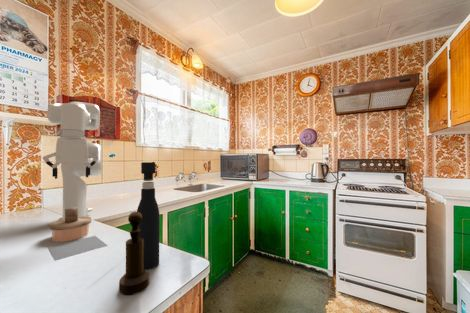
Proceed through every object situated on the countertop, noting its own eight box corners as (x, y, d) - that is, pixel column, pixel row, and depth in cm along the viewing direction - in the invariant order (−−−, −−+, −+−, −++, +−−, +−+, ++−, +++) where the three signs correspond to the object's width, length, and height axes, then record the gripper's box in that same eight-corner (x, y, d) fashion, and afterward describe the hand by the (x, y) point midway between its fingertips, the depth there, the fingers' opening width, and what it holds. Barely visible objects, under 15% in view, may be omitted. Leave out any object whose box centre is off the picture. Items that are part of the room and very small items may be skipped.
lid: (70, 219, 87) (70, 204, 87) (98, 219, 86) (99, 205, 86) (39, 229, 74) (39, 212, 74) (72, 230, 73) (72, 213, 73)
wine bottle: (163, 264, 59) (163, 162, 60) (140, 273, 55) (141, 162, 55) (153, 257, 64) (154, 162, 64) (131, 264, 59) (132, 162, 60)
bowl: (70, 231, 86) (70, 219, 86) (94, 232, 85) (95, 220, 85) (44, 242, 75) (44, 228, 75) (71, 243, 74) (72, 229, 74)
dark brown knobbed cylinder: (126, 278, 52) (127, 209, 52) (152, 277, 53) (153, 208, 53) (113, 296, 45) (114, 216, 46) (143, 294, 46) (144, 215, 46)
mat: (47, 248, 70) (47, 247, 70) (95, 236, 80) (95, 235, 80) (54, 262, 61) (54, 260, 61) (107, 246, 71) (107, 245, 71)
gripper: (42, 132, 72) (41, 180, 72) (99, 136, 84) (99, 177, 84) (43, 134, 78) (43, 178, 78) (97, 137, 89) (96, 176, 89)
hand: (72, 177), depth 81 cm, fingers open, 9 cm apart
